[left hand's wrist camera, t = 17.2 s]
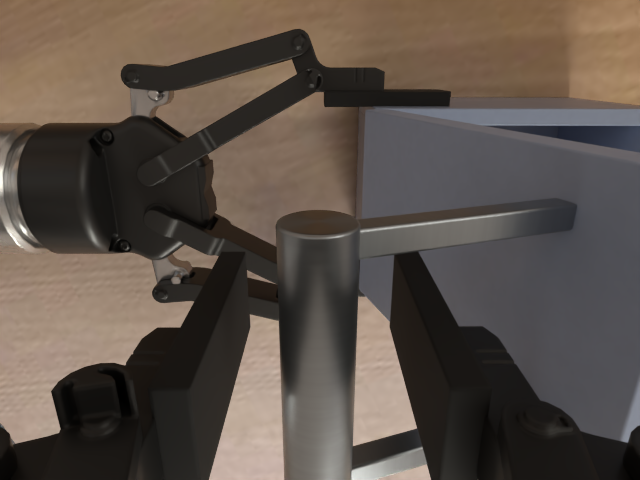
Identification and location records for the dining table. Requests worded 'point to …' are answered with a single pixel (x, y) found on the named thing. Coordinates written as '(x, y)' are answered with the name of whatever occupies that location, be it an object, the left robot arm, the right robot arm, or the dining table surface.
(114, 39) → the dining table surface
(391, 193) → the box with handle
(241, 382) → the dining table surface
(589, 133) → the chest
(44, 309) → the dining table surface
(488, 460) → the left robot arm
